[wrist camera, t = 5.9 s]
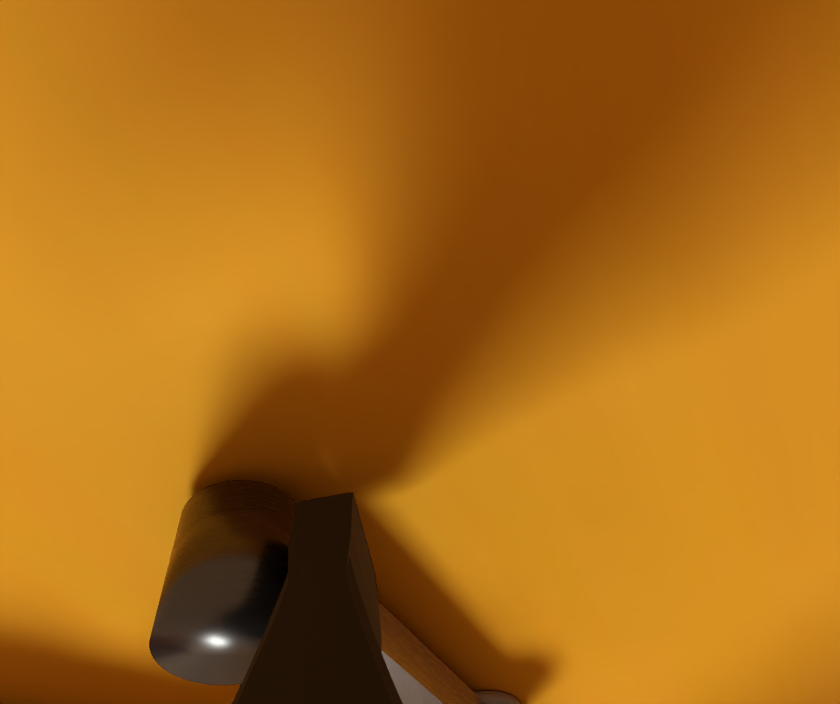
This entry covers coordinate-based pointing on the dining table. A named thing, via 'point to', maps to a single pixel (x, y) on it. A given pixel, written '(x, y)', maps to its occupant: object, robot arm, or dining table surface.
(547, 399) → the dining table surface
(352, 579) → the robot arm
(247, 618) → the lever
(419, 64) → the dining table surface
